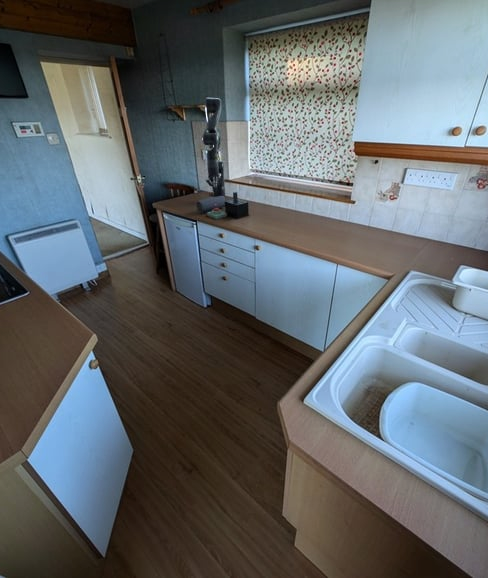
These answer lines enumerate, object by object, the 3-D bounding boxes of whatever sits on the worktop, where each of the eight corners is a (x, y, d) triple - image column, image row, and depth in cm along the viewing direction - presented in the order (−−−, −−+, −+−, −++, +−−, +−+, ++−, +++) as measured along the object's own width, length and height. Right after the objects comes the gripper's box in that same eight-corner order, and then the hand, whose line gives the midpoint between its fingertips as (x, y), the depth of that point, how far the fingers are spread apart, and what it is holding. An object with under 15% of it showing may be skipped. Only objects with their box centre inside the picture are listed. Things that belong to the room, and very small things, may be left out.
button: (213, 211, 216) (212, 208, 215) (217, 210, 218) (216, 207, 217) (215, 212, 213) (215, 209, 212) (219, 211, 215) (219, 208, 214)
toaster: (225, 214, 220) (224, 201, 214) (236, 211, 226) (236, 198, 221) (237, 219, 210) (236, 204, 205) (249, 215, 217) (248, 201, 212)
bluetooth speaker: (203, 215, 219) (202, 201, 214) (196, 212, 225) (195, 199, 220) (227, 209, 232) (226, 196, 227) (220, 206, 238) (219, 194, 233)
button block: (206, 215, 218) (206, 210, 216) (217, 212, 224) (217, 207, 222) (216, 219, 211) (215, 213, 209) (227, 216, 216) (226, 210, 214)
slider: (233, 199, 217) (232, 192, 215) (235, 198, 219) (235, 191, 216) (235, 199, 216) (234, 192, 213) (237, 199, 217) (237, 192, 215)
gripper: (217, 164, 205) (219, 189, 214) (201, 166, 198) (204, 192, 207) (223, 165, 201) (225, 191, 210) (207, 168, 193) (210, 194, 202)
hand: (215, 192), depth 208 cm, fingers closed
